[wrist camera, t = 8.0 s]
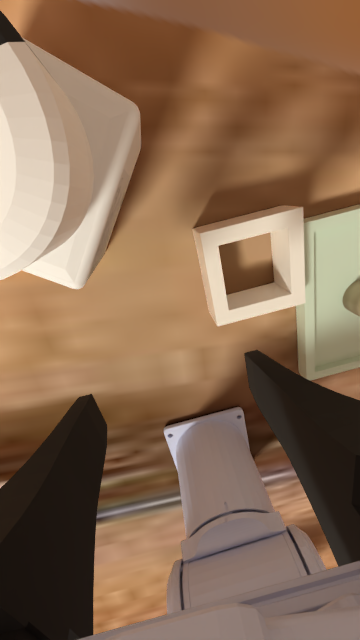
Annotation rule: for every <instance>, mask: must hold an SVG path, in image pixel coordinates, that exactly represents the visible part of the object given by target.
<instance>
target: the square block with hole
mask: <svg viewBox="0 0 360 640" xmlns="http://www.w3.org/2000/svg"><path fill="white" fill-rule="evenodd" d="M269 232H270V233H271V246H272V259H273V272H274V283H270V284H266V285H262V286H259V287H255V288H251V289H247V290H243V291H240V292H236V293H232V294H228V295H226V290H225V284H224V278H223V272H222V266H221V260H220V254H219V248H218V246H219V245H223V244H227V243H231V242H235V241H239V240H242V239H246V238H250V237H254V236H258V235H262V234H265V233H269ZM193 234H194V239H195V244H196V249H197V254H198V259H199V264H200V269H201V274H202V279H203V284H204V289H205V294H206V299H207V304H208V309H209V312H210V314H211V316H212V318H213V319H214V321H215V323H216V325H217V326H221V325H225V324H229V323H232V322H236V321H240V320H244V319H247V318H251V317H255V316H259V315H263V314H266V313H270V312H274V311H278V310H281V309H285V308H289V307H293V306H297V305H300V304H304V303H306V302H305V261H304V220H303V207H298V206H285V205H281V206H277V207H274V208H270V209H266V210H262V211H258V212H254V213H250V214H247V215H243V216H239V217H235V218H231V219H227V220H223V221H220V222H216V223H212V224H208V225H204V226H200V227H196V228H193Z"/></svg>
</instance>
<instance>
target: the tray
mask: <svg viewBox="0 0 360 640" xmlns="http://www.w3.org/2000/svg"><path fill="white" fill-rule="evenodd" d="M303 220H304V261H305V302H306V303H304V304H300V305H297V306H296V319H297V343H298V367H299V373H300V374H301V376H302V377H304V378H306V379H308V380H310V381H311V380H314V379H318V378H322V377H326V376H329V375H333V374H337V373H340V372H344V371H348V370H352V369H355V368H359V367H360V317H359V316H358V315H356V314H354V313H352V312H350V311H349V310H347V309H346V308H345V307H344V305H343V295H344V293H345V291H346V289H347V288H348V287H349V286H350V285H351V284H352V283H354V282H355V281H357V280H360V204H358V205H355V206H351V207H347V208H343V209H339V210H335V211H332V212H328V213H324V214H320V215H316V216H312V217H308V218H305V219H303Z"/></svg>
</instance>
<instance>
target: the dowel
mask: <svg viewBox="0 0 360 640" xmlns="http://www.w3.org/2000/svg"><path fill="white" fill-rule="evenodd" d="M343 305H344V307H345V308H346V309H347V310H349V311H350V312H352V313H354V314H356V315H358V316H359V317H360V280H357V281H355V282H354V283H352V284H351V285H350V286H349V287H348V288H347V289H346V291H345V293H344V295H343Z"/></svg>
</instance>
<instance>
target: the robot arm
mask: <svg viewBox="0 0 360 640" xmlns="http://www.w3.org/2000/svg"><path fill="white" fill-rule="evenodd" d="M244 354H245V361H246V368H247V375H248V382H249V388H250V390H251V392H252V395H253V397H254V399H255V401H256V403H257V406H258V407H259V409H260V411H261V412H262V414H263V416H264V417H265V419H266V421H267V422H268V424H269V426H270V427H271V429H272V431H273V432H274V434H275V435H276V437H277V439H278V440H279V442H280V444H281V445H282V447H283V449H284V450H285V452H286V454H287V456H288V458H289V459H290V461H291V464H292V466H293V468H294V470H295V472H296V474H297V476H298V478H299V480H300V482H301V484H302V486H303V488H304V491H305V493H306V495H307V497H308V499H309V501H310V503H311V505H312V508H313V510H314V512H315V514H316V516H317V519H318V521H319V523H320V525H321V527H322V530H323V532H324V534H325V536H326V539H327V541H328V543H329V545H330V548H331V550H332V552H333V555H334V557H335V559H336V562H337V564H338V566H339V567H335V568H332V569H328V570H326V568H325V565H324V563H323V561H322V559H321V557H320V556H319V554H318V552H317V550H316V548H315V546H314V544H313V543H312V541H311V539H310V538H309V536H308V535H307V534H306V533H305V532H303V531H302V530H300V529H298V527H297V526H295V525H294V524H292V525H289V526H286V527H285V525H284V522H283V520H282V518H281V515H280V513H279V512H278V511H276V512H275V510H274V508H273V506H272V503H271V501H270V498H269V496H268V494H267V491H266V489H265V486H264V484H263V482H262V479H261V477H260V474H259V472H258V470H257V467H256V465H255V462H254V460H253V458H252V455H251V453H250V448H249V442H248V436H247V430H246V424H245V418H244V413H243V410H242V408H241V407H236V408H232V409H228V410H225V411H221V412H217V413H214V414H210V415H206V416H202V417H199V418H195V419H191V420H188V421H184V422H180V423H176V424H173V425H169V426H166V427H165V428H164V435H165V437H166V440H167V443H168V446H169V448H170V451H171V454H172V457H173V459H174V462H175V465H176V468H177V470H178V476H179V483H180V491H181V499H182V507H183V515H184V523H185V531H186V540H183V541H181V549H182V558H183V559H181V560H177V561H175V563H174V565H173V568H172V571H171V573H170V576H169V579H168V584H167V615H163V616H160V617H156V618H153V619H149V620H145V621H142V622H138V623H135V624H131V625H127V626H124V627H120V628H117V629H113V630H110V631H106V632H102V633H99V634H95V635H93V582H94V551H95V531H96V516H97V505H98V498H99V492H100V485H101V479H102V473H103V467H104V461H105V455H106V448H107V424H106V422H105V420H104V418H103V416H102V414H101V412H100V410H99V408H98V406H97V404H96V402H95V400H94V398H93V395H92V394H90V395H86V396H82V397H79V398H78V399H77V400H76V401H75V403H74V404H73V405H72V406H71V408H70V409H69V410H68V412H67V413H66V414H65V416H64V417H63V418H62V420H61V421H60V422H59V423H58V425H57V426H56V427H55V429H54V430H53V431H52V433H51V434H50V435H49V436H48V437H47V439H46V440H45V441H44V442H43V443H42V445H41V446H40V447H39V448H38V449H37V451H36V452H35V453H34V454H33V455H32V456H31V458H30V459H29V460H28V461H27V462H26V463H25V464H24V465H23V466H22V467H21V468H20V469H19V470H18V471H17V473H16V474H15V475H14V476H13V477H12V478H11V479H10V480H9V481H8V482H7V483H5V484H4V485H3V486H2V487H1V488H0V640H360V400H357V399H354V398H351V397H348V396H345V395H342V394H340V393H337V392H334V391H332V390H330V389H327V388H325V387H322V386H320V385H318V384H316V383H314V382H312V381H310V380H308V379H306V378H304V377H302V376H300V375H298V374H296V373H294V372H292V371H291V370H289V369H287V368H285V367H284V366H282V365H280V364H279V363H277V362H276V361H274V360H272V359H271V358H269V357H268V356H266V355H265V354H263V353H261V352H260V351H258V350H255V351H251V352H247V353H244ZM238 415H240V416H238ZM169 434H170V435H169Z"/></svg>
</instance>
